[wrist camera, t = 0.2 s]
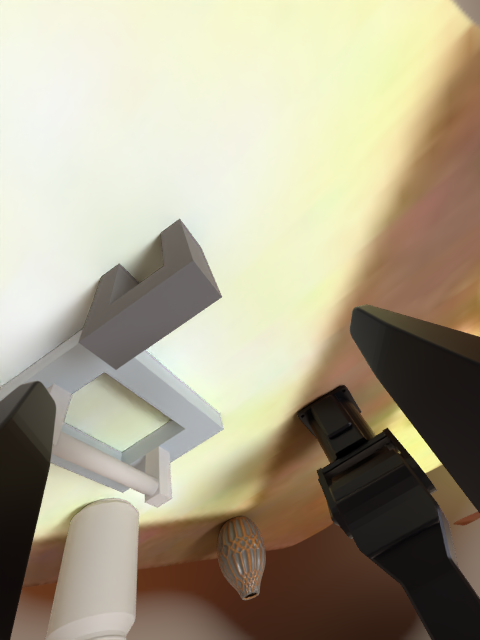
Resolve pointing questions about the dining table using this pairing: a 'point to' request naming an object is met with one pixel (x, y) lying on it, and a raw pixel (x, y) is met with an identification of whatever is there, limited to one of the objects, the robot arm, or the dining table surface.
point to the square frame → (146, 455)
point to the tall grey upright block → (149, 300)
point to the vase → (241, 555)
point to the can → (97, 574)
